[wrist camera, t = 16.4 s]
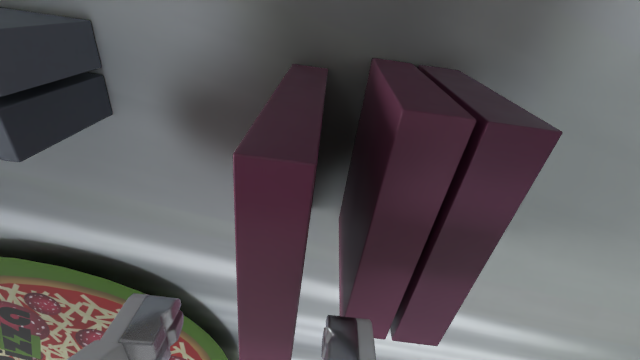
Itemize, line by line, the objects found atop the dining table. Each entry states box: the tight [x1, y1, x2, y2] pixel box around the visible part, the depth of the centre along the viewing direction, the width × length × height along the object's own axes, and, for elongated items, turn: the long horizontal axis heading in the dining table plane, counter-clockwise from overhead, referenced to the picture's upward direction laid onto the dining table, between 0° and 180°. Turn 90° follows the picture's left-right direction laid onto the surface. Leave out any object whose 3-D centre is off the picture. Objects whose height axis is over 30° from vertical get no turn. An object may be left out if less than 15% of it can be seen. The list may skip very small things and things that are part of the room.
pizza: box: [0, 257, 228, 360], centre depth 39 cm, size 35×35×2 cm
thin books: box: [339, 58, 562, 346], centre depth 19 cm, size 14×6×11 cm, turn 173°
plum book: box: [233, 64, 328, 360], centre depth 18 cm, size 2×12×14 cm, turn 173°
